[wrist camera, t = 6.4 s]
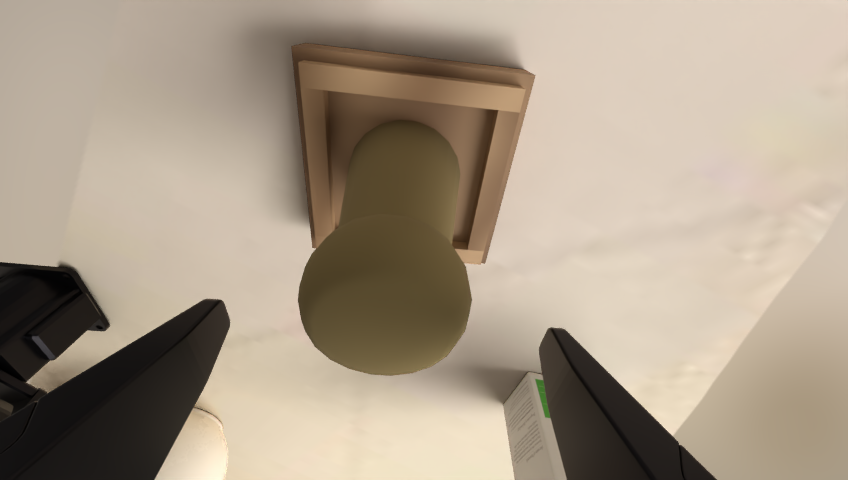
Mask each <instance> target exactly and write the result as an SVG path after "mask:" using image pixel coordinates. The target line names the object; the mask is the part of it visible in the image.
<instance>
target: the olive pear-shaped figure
mask: <svg viewBox="0 0 848 480" xmlns="http://www.w3.org/2000/svg"><path fill="white" fill-rule="evenodd" d="M459 181H460V169H459V163H458V157H457V155H456V154H455V152H454V150H453V148H452V146H451V145H450V143H449V141H447V140H446V139H445V138H444V137H443V136H442V135H441V134H440V133H439V132H438V131H437V130H435V129H433V128H431V127H429V126H427V125H424V124H422V123H420V122H416V121H406V120H396V121H391V122H387V123H383V124H380V125H378V126H376V127H375V128H373V129H372V130H370V131H369V132H367V133H365V134H364V136H363V137H362V138H361V140H360V141H359V142H358V143H357V145H356V146H355V147H354V150H353V153H352V157H351V160H350V163H349V168H348V174H347V180H346V185H345V191H344V197H343V203H342V208H341V214H340V220H339V226H338V228H337V229H335V230H334V231H333V232H332V233H331V234H330V235H328V236H327V237H326V238H325V239H324V241H323V242H322V243H321V244H320V245H319V246H318V248H317V249H316V250H315V251H314V252H313V253H312V255H311V257H310V259H309V260H308V262H307V264H306V266H305V269H304V273H303V276H302V280H301V283H300V286H299V296H298V303H299V309H300V315H301V320H302V323H303V326H304V329H305V331H306V333H307V335H308V336H309V338H310V339H311V341H312V343H313V344H314V346H315V347H316V348H317V349H318V350H320V351H321V352H322V353H323V354H324V355H326V356H327V357H328V358H329V359H330V360H332V361H334V362H336V363H338V364H341V365H343V366H345V367H347V368H349V369H352V370H356V371H360V372H364V373H368V374H374V375H389V376H392V375H400V374H408V373H414V372H417V371H420V370H422V369H425V368H428V367H431V366H433V365H434V364H436V363H437V362H439V361H440V360H442V359H443V358H445V357H446V356H447V355H448V354H449V353H450V351H451V350H452V349H453V347H454V346H455V345H456V343H457V342H458V340H459V339H460V338H461V336H462V335H463V333H464V332H465V329H466V325H467V321H468V317H469V312H470V307H471V301H472V298H471V292H470V286H469V281H468V276H467V271H466V266H465V265H464V263H463V261H462V260H461V258H460V256H459V255H458V253H457V252H456V250H455V249H454V247H453V246H452V239H453V231H454V223H455V215H456V206H457V198H458V190H459Z"/></svg>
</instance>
